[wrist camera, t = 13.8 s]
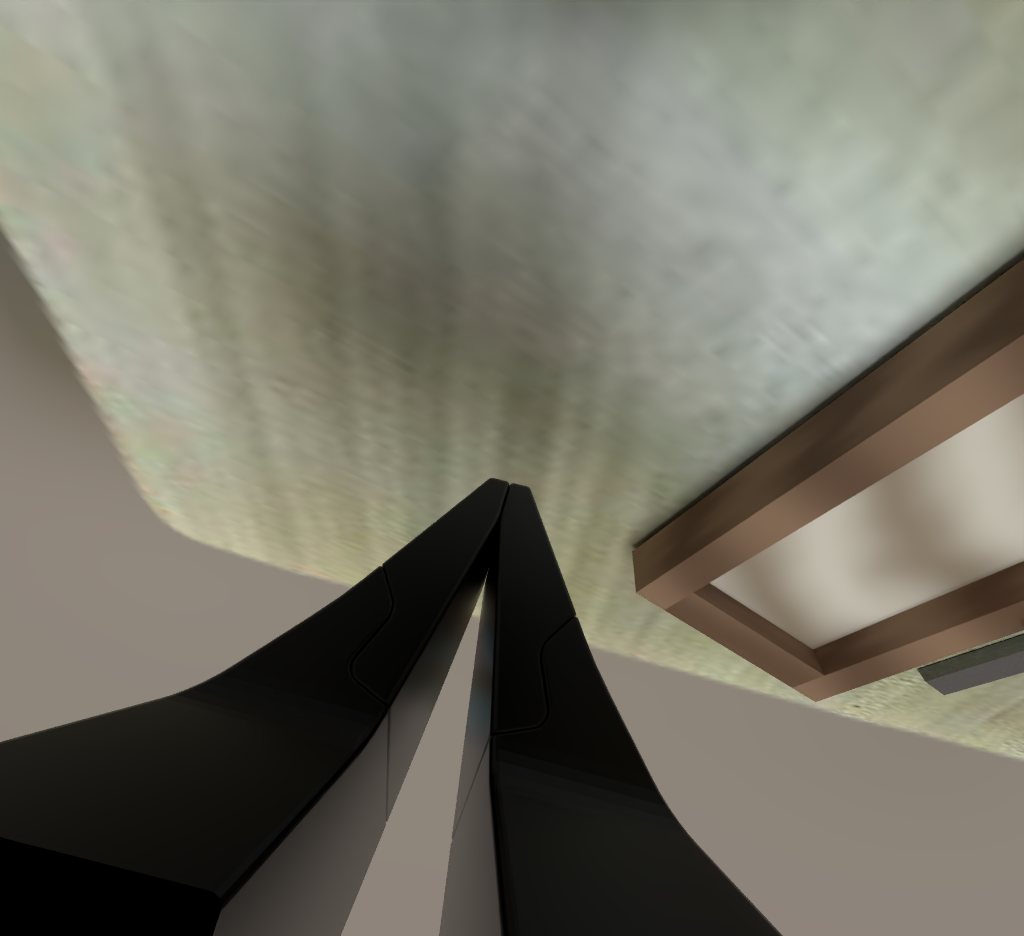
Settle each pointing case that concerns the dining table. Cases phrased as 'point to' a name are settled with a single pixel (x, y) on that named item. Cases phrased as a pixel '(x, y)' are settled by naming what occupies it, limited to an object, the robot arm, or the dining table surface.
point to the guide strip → (977, 667)
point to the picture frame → (870, 518)
